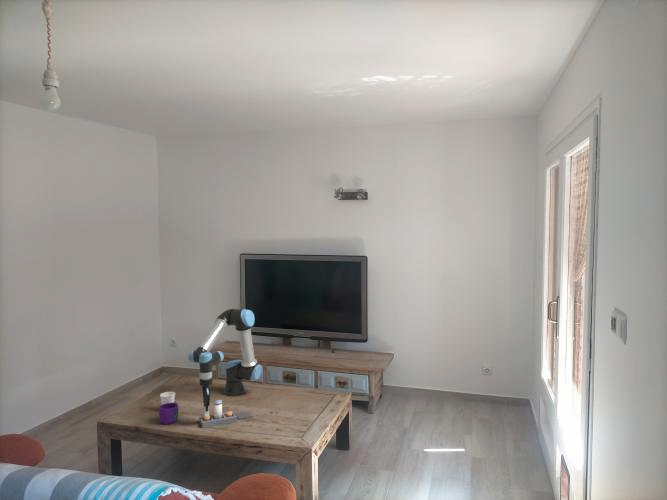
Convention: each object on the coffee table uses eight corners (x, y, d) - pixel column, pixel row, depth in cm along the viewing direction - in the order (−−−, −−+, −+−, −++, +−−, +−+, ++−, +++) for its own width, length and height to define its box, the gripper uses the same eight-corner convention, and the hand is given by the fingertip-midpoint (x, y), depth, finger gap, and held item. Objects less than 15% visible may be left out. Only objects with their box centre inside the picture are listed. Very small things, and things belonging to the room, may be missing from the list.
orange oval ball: (231, 415, 307) (231, 410, 307) (232, 417, 304) (232, 412, 304) (225, 416, 305) (225, 411, 305) (227, 418, 302) (227, 413, 302)
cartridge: (221, 418, 305) (221, 399, 305) (223, 421, 300) (222, 401, 300) (213, 420, 303) (212, 400, 302) (214, 423, 298) (214, 403, 298)
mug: (173, 425, 296) (172, 409, 296) (155, 424, 298) (155, 408, 298) (186, 414, 314) (185, 399, 313) (169, 413, 315) (169, 398, 315)
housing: (232, 415, 311) (232, 411, 311) (236, 421, 301) (236, 417, 301) (199, 421, 302) (199, 416, 302) (202, 427, 292) (202, 423, 292)
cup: (170, 413, 315) (170, 397, 315) (157, 412, 317) (156, 396, 317) (178, 408, 325) (178, 392, 325) (165, 407, 327) (164, 391, 327)
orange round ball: (209, 419, 301) (209, 414, 301) (210, 421, 298) (210, 416, 298) (203, 420, 299) (203, 415, 299) (204, 422, 296) (204, 417, 296)
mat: (248, 412, 317) (248, 411, 317) (252, 417, 309) (252, 416, 309) (235, 414, 313) (235, 414, 313) (238, 419, 305) (238, 418, 305)
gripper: (197, 376, 302) (198, 413, 303) (201, 381, 290) (202, 420, 291) (210, 374, 305) (210, 411, 306) (214, 380, 293) (215, 418, 294)
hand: (206, 415), depth 298 cm, fingers closed, pressing on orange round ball
